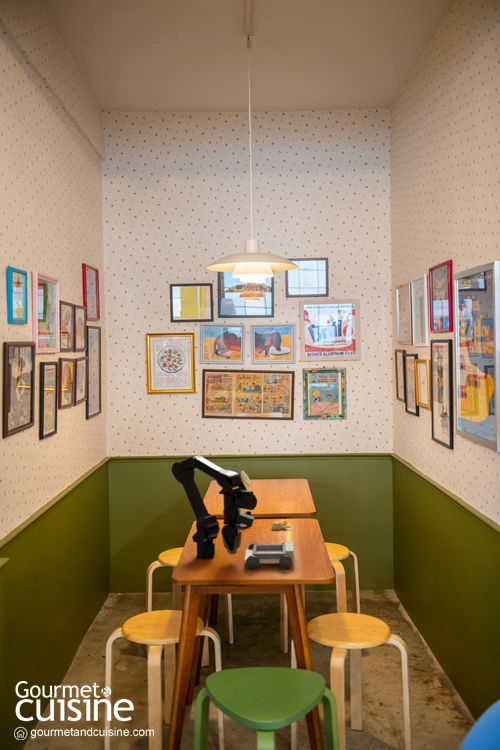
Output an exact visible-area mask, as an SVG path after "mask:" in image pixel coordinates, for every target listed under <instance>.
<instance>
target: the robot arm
mask: <svg viewBox="0 0 500 750" xmlns="http://www.w3.org/2000/svg"><path fill="white" fill-rule="evenodd" d="M195 469H198V471H201V472H202V473H204V474H206V475H207V476H209V477H211V478H212V479H214V480H215V481H216V483H217V485H218V486H219V487H221V488H222V489H220V491H218V494H219V495H223V512H222V513H223V526H222V527H220V522H219V521H218V519H217V515H216V514H213V515H211V514H210V513H209V512H208V509H207V506H206V504H205V502H204V500H203V497H202V496H201V493H200V491H199V488H198V486H197V483H196V481H195V475H196V474H195ZM171 474H172V475H173V477H174V479H175V480H176V481H177V482H178V483H179V484H181V485H182V487H183V489H184V491H185V494H186V497H187V499H188V501H189V504H190V506H191V508H192V510H193V513H194V516H195V518H196V521H195V528H196V531H195V533H194V534H193V535H192V536H191V538H192V541H193V543H196V557H195V558H196V559H214V556H215V555H216V543H214V540H216V539H217V538H218V535H219V533H220V529H221V536H222V535H223V537H224V539H225V541H226V543H227V545H228V547H229V549H230V551H233V548H234V541H235V537H236V536H238V535H239V532H240V529H241V527H240V526H241V525H240V524H244V525H247V526H246V527H248V528H252V526H253V524H254V521H255V516H254V515H252V511H254V510H255V509H256V507H257V505H258V499H257V496H256V495H255V494H254V491H253V490H248V489H247V486H246V484H245V483H244V481H243V479H242V477H241V474H239V473H238V472H237V471H236V472H235V471H234V470H228V469H224V468H221V467H220V466H218V465H216V464H215V463H213V462H211V461H210V460H207V459H206V458H204V457H203V456H202V455H200V454H197V455H193V456H190V457H189V458H186V459H184V460H181V461H176V462H174V463H173V464H172V465H171ZM242 481H243V482H242ZM239 508H241V510H247V511H246V512H243V511H242V512H240V509H239ZM223 537H222V538H223Z"/></svg>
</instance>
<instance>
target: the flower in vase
mask: <svg viewBox="0 0 500 750" xmlns="http://www.w3.org/2000/svg"><path fill="white" fill-rule="evenodd" d="M240 478H241V480H242V482H243V483H244V485H245V486H246V487H251V484H252V483H251V479H250V478H249V476H248V473H246V472H245V471H244V470H241V471H240ZM239 509H240V512H242V513H243V509H241V508H239ZM240 525H241V526H240V528H245V527H248V526H247V525H244V524H240Z"/></svg>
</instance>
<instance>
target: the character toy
mask: <svg viewBox="0 0 500 750" xmlns="http://www.w3.org/2000/svg"><path fill="white" fill-rule="evenodd" d="M287 528H288V529H290V528H291V525H289V524H288V522H287V521H286V520H283V521H282V522H280V521H271V529H272V530H274V531H275V530H276V531H277V530H279V531H280V530H282V529H287Z"/></svg>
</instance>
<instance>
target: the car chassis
mask: <svg viewBox="0 0 500 750" xmlns="http://www.w3.org/2000/svg"><path fill="white" fill-rule="evenodd" d="M294 548H295V547H294V541H285V542H282V543H279V544H271V543H270V544H268V543H265V544H261V543H260V544H259V543H257V542H252V543H250V544H249V545H248V548H246V549H245V556H244V564H245V565H246V567H247V569H248V570H250V571H256V570H257V569H258V568H259V566H260V564H278V565H279V567H280V568H281V569H282V570H285V571H287V570H289V569H291V568H292V566H293V564H295V551H294Z"/></svg>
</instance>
